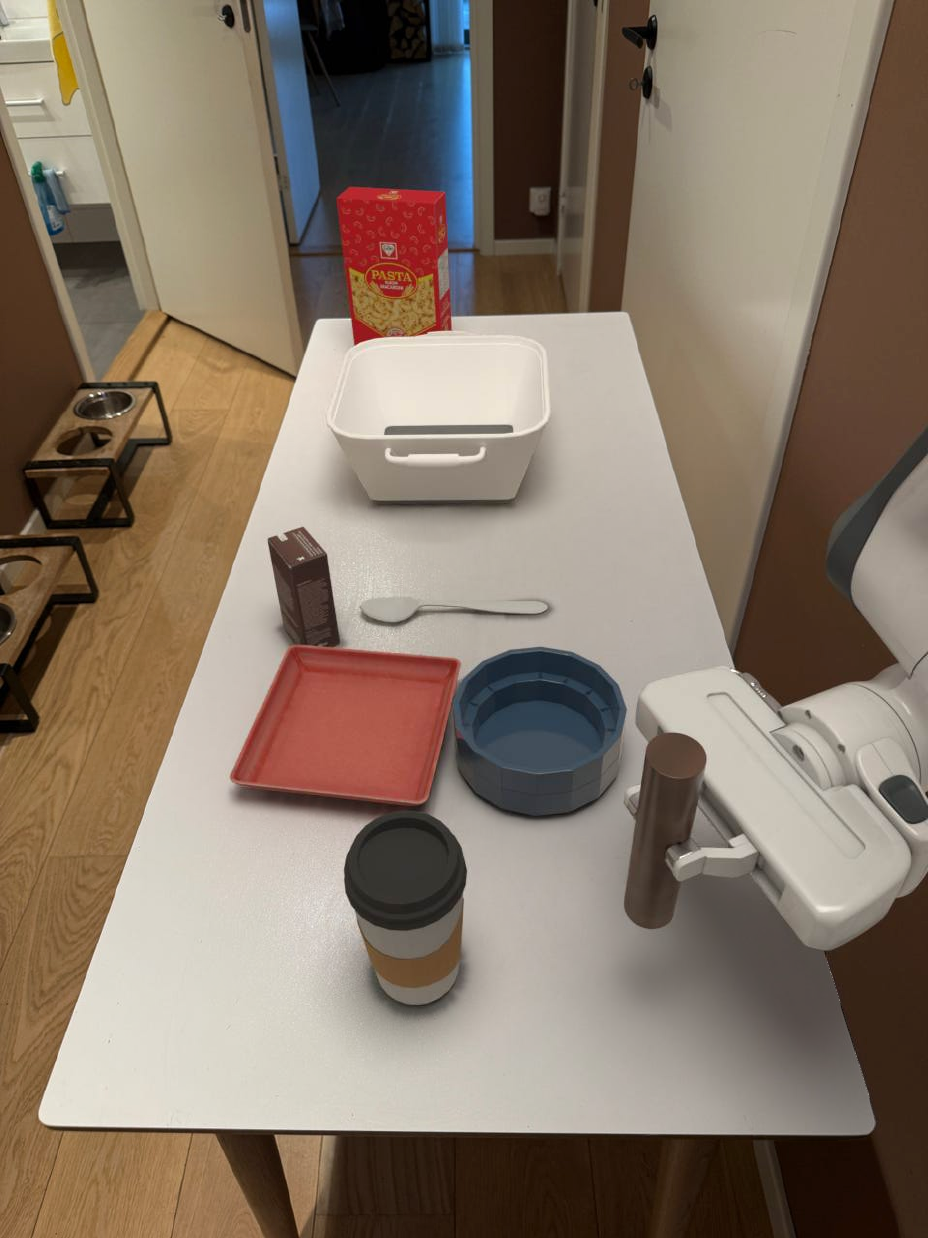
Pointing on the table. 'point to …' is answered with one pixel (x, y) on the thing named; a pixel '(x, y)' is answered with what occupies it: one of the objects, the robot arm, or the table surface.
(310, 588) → the box
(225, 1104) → the table surface
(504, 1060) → the table surface
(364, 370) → the tub
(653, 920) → the brown cylinder
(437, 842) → the coffee cup
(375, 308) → the food packaging
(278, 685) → the plant saucer
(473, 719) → the bowl
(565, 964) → the table surface
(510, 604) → the spoon
